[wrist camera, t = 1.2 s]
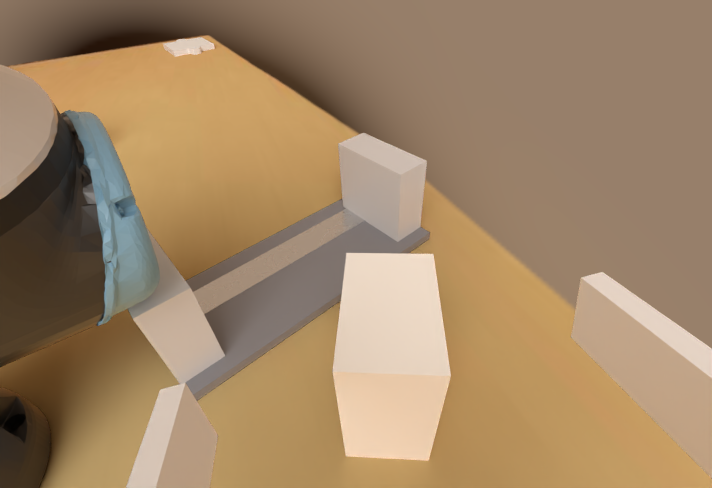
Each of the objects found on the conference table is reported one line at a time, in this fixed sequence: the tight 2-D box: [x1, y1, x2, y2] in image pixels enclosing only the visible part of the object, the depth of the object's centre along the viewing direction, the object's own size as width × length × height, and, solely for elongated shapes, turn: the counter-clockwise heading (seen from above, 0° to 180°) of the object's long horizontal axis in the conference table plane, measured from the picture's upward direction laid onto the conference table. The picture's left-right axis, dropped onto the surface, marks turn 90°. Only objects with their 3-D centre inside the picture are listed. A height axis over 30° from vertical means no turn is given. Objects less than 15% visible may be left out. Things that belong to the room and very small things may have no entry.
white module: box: [333, 253, 451, 461], centre depth 26 cm, size 6×9×12 cm, turn 177°
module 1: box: [128, 229, 225, 384], centre depth 31 cm, size 4×10×9 cm, turn 42°
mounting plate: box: [163, 37, 215, 56], centre depth 121 cm, size 18×13×2 cm
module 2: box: [338, 133, 427, 242], centre depth 44 cm, size 4×10×9 cm, turn 41°
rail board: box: [185, 199, 430, 401], centre depth 41 cm, size 30×13×1 cm, turn 132°
